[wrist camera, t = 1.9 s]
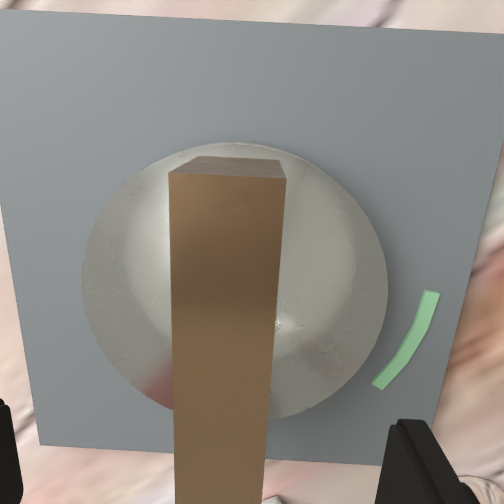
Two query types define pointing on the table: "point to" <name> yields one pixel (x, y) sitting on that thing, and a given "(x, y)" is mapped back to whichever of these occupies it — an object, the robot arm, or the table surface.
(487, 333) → the table surface
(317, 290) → the tuning dial
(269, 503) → the skincare box
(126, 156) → the dial plate
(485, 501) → the beer glass
